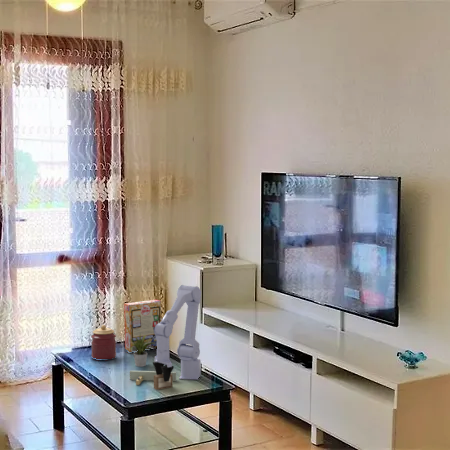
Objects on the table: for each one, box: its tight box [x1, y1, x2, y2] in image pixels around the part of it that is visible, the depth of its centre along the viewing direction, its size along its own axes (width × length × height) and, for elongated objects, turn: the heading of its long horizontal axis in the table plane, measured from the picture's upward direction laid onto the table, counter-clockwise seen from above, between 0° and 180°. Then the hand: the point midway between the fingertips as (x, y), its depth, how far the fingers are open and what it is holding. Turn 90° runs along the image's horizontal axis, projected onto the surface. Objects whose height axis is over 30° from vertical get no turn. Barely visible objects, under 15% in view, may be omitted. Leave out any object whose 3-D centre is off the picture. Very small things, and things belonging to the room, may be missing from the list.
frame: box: [153, 374, 174, 391], centre depth 328 cm, size 8×3×6 cm, turn 120°
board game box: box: [123, 299, 162, 352], centre depth 399 cm, size 20×6×27 cm, turn 126°
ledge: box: [129, 370, 177, 386], centre depth 337 cm, size 22×10×4 cm, turn 85°
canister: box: [90, 324, 117, 360], centre depth 382 cm, size 13×13×18 cm
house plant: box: [130, 334, 155, 368], centre depth 366 cm, size 14×14×16 cm
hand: (163, 379), depth 328 cm, fingers open, 7 cm apart
